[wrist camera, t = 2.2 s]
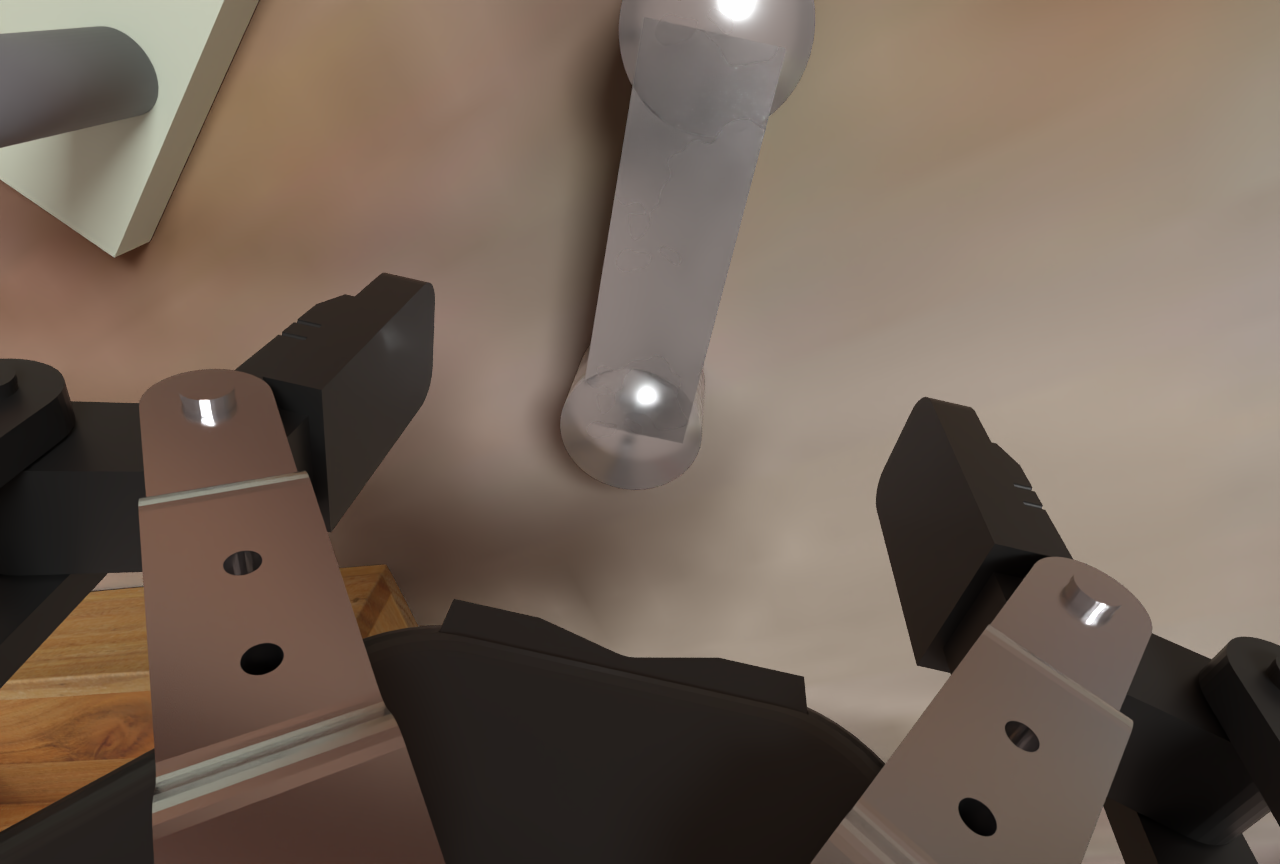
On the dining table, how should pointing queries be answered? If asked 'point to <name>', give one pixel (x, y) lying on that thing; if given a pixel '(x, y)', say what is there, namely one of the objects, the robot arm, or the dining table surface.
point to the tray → (113, 692)
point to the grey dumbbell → (676, 223)
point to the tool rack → (109, 104)
